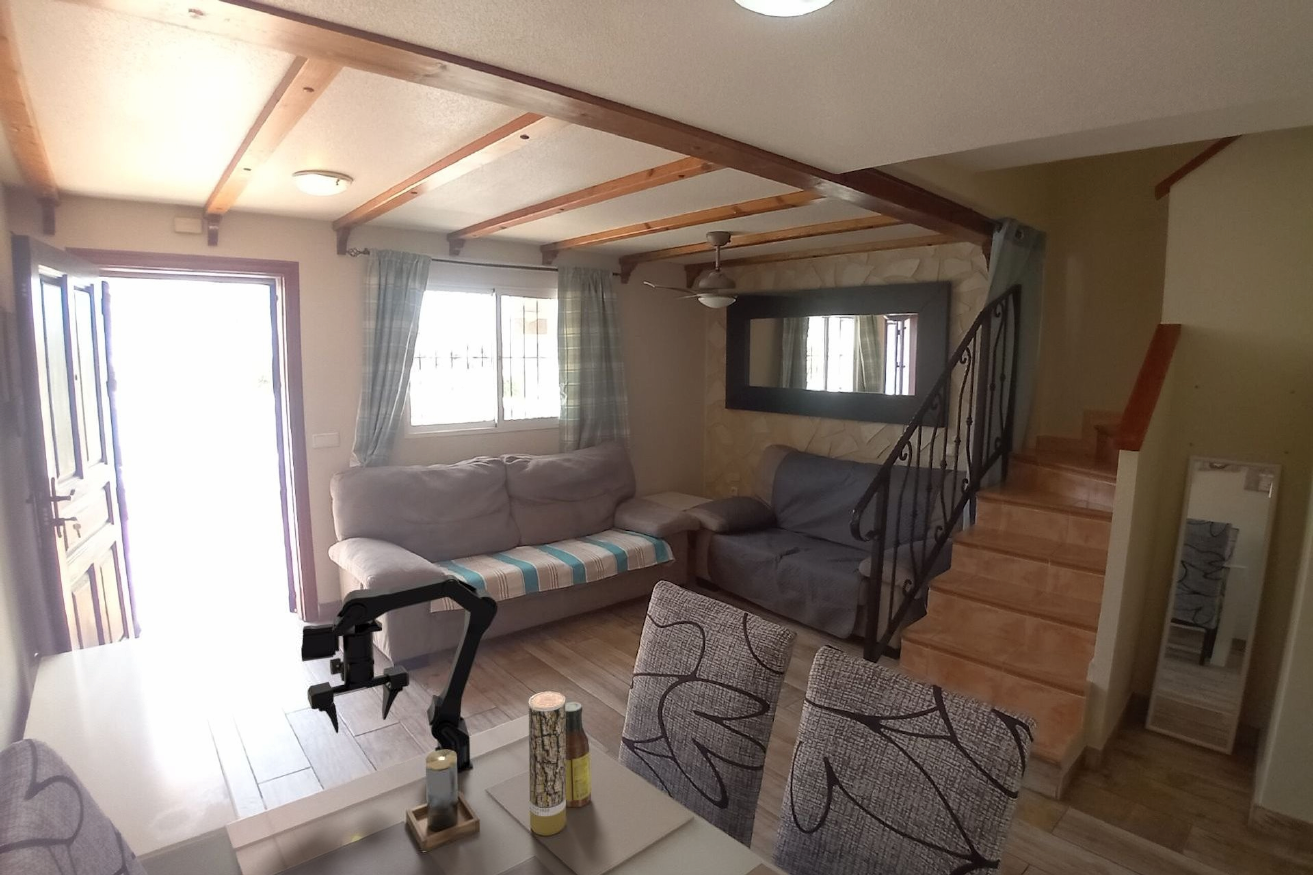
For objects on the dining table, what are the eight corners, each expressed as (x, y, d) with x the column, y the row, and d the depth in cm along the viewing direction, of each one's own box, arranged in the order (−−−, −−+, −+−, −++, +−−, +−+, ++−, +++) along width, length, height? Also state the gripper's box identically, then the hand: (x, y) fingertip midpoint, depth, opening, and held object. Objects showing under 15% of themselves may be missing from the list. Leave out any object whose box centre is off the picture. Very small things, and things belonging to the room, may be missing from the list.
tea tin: (439, 810, 132) (438, 747, 131) (464, 816, 130) (462, 752, 129) (421, 828, 127) (419, 762, 125) (445, 834, 125) (444, 768, 124)
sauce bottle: (593, 791, 139) (593, 699, 137) (587, 810, 133) (587, 714, 131) (562, 789, 140) (562, 697, 138) (555, 808, 134) (554, 712, 132)
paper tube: (558, 839, 124) (558, 710, 122) (524, 834, 126) (523, 706, 124) (570, 816, 131) (570, 693, 129) (537, 811, 132) (536, 689, 130)
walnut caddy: (460, 801, 136) (460, 791, 135) (479, 830, 127) (479, 819, 127) (406, 821, 129) (406, 810, 129) (422, 852, 121) (422, 841, 121)
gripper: (395, 631, 150) (396, 698, 152) (301, 650, 140) (304, 722, 141) (409, 647, 141) (411, 718, 143) (310, 669, 131) (313, 746, 132)
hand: (360, 725), depth 140 cm, fingers open, 9 cm apart
